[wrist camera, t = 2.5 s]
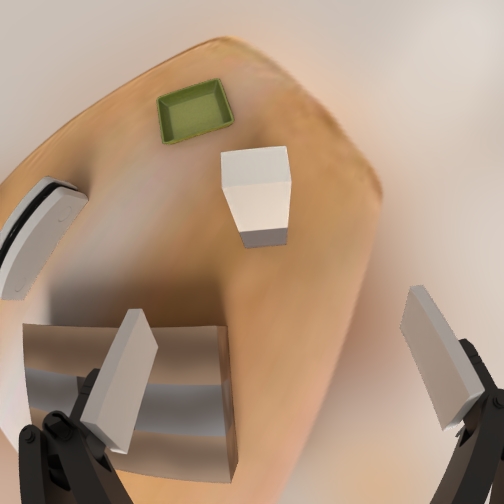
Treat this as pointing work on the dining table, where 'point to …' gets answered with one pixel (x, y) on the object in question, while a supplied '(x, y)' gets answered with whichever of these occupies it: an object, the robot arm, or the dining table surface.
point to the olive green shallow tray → (193, 111)
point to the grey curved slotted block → (35, 233)
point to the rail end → (258, 193)
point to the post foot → (147, 396)
